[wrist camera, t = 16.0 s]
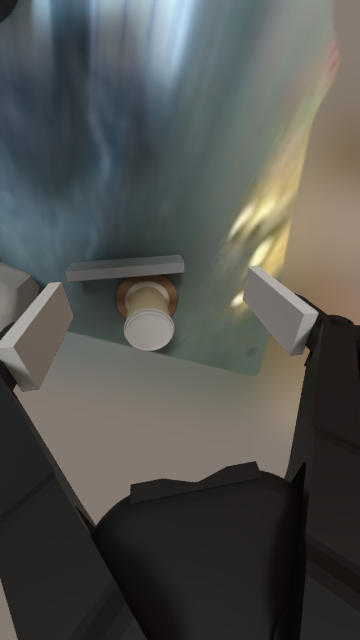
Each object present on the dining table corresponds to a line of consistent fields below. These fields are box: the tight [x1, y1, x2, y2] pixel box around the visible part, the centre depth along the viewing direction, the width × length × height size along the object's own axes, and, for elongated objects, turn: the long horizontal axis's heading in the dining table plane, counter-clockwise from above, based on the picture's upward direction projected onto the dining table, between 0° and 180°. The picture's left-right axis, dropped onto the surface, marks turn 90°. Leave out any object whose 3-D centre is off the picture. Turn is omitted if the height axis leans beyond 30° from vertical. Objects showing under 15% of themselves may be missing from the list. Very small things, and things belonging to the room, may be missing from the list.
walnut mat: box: [116, 274, 178, 319], centre depth 50 cm, size 14×14×1 cm
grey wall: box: [64, 255, 184, 282], centre depth 43 cm, size 2×22×5 cm, turn 92°
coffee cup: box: [124, 287, 174, 351], centre depth 44 cm, size 9×9×12 cm
